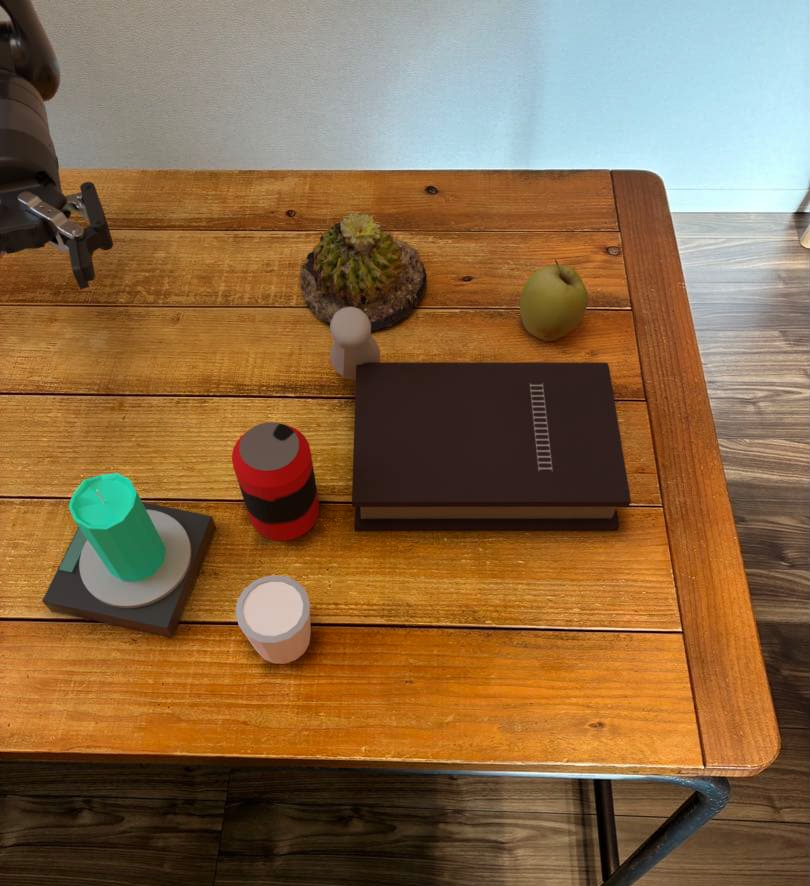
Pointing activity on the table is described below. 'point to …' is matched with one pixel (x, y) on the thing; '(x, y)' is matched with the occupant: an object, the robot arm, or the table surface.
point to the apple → (553, 302)
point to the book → (487, 447)
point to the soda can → (277, 480)
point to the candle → (118, 526)
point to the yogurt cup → (275, 618)
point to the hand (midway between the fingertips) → (27, 291)
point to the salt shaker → (352, 342)
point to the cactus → (362, 273)
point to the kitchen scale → (135, 602)
